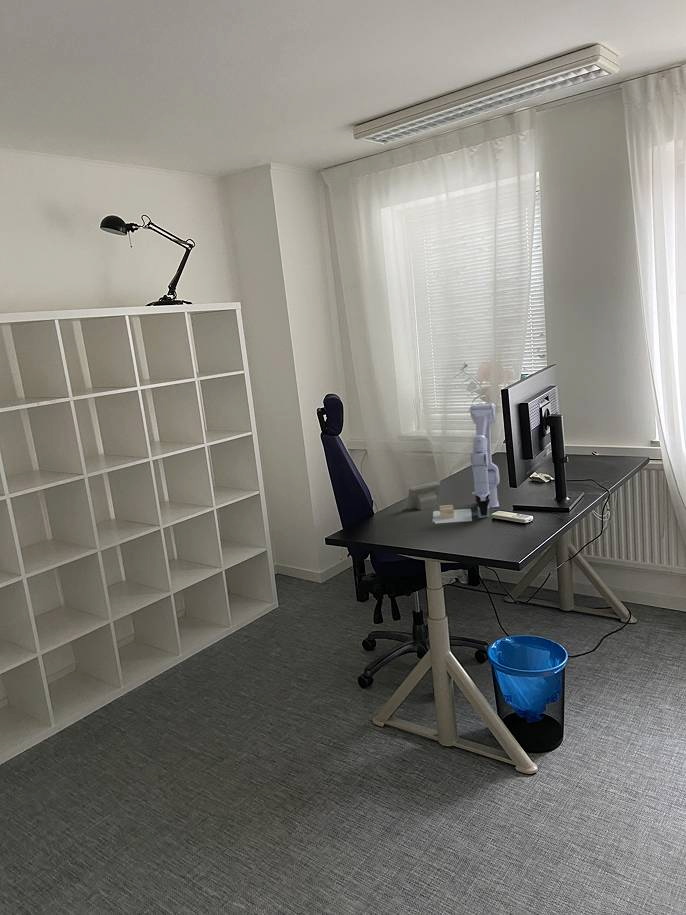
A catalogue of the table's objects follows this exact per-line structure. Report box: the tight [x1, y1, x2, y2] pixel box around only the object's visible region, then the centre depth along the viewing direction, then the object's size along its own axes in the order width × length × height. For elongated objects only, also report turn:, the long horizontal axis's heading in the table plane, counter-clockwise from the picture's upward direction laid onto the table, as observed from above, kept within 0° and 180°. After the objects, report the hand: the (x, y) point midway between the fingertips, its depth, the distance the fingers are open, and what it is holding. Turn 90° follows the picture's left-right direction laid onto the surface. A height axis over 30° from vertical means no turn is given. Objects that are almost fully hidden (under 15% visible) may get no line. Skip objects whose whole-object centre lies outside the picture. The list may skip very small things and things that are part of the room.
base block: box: [439, 504, 455, 519], centre depth 296 cm, size 6×6×4 cm
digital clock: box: [406, 481, 441, 511], centre depth 315 cm, size 16×9×11 cm, turn 103°
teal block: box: [477, 505, 491, 519], centre depth 291 cm, size 4×4×4 cm
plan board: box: [432, 508, 473, 524], centre depth 297 cm, size 18×16×1 cm
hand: (483, 513), depth 291 cm, fingers closed on teal block, 4 cm apart
